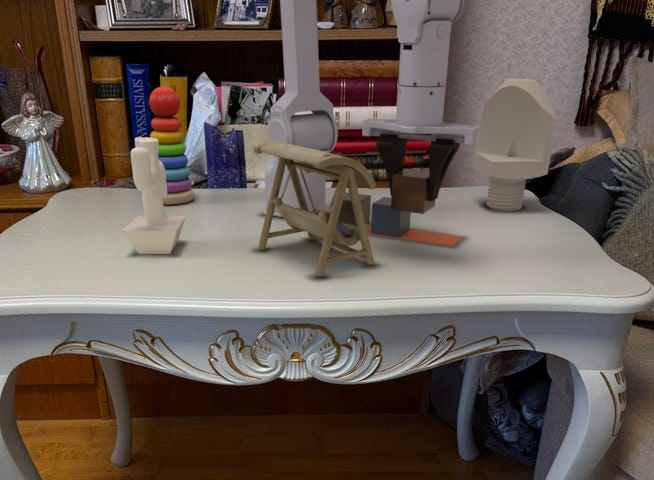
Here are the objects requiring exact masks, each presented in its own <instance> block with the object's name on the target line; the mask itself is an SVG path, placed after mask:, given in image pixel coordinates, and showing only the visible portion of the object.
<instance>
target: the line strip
mask: <svg viewBox="0 0 654 480" xmlns="http://www.w3.org/2000/svg"><path fill="white" fill-rule="evenodd" d="M369 225H370V230H369V231H368V232H367V233H368V235H374V236H381V237H386V238H394V239H400V240H408V241H413V242H414V241H415V242H420V243H428V244H434V245H440V246H448V247H454V246H455V245H456V244H457V243H459V241H460V240H461V239H463V236H460V235H454V234H453V235H452V234H446V233H440V232H439V233H438V232H432V231H425V230H418V229H410V230H408V231H407V232H405V233H404V234H403V235H401V236H400V237H394V236H387V235H381V234H374V233H371V223H370V224H369Z"/></svg>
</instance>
